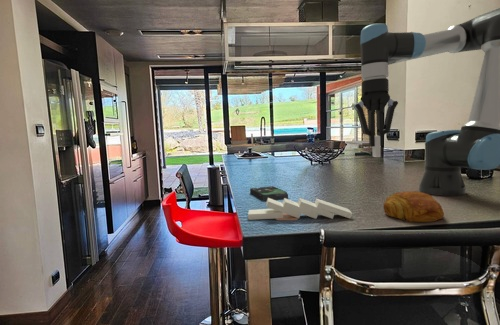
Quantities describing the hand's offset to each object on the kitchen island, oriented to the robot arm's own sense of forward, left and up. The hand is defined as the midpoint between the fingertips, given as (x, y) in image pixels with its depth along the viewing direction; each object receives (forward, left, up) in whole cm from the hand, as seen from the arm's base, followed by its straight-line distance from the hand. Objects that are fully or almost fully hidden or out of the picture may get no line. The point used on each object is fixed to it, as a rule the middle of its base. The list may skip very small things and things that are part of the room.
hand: (376, 156), depth 97 cm
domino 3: (+20, +9, -16) cm, 27 cm away
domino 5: (+11, +9, -16) cm, 21 cm away
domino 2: (+25, +8, -15) cm, 31 cm away
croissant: (-7, +9, -17) cm, 20 cm away
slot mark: (+29, +9, -16) cm, 34 cm away
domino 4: (+16, +9, -16) cm, 24 cm away
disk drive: (+34, -21, -17) cm, 44 cm away
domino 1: (+30, +9, -15) cm, 35 cm away
